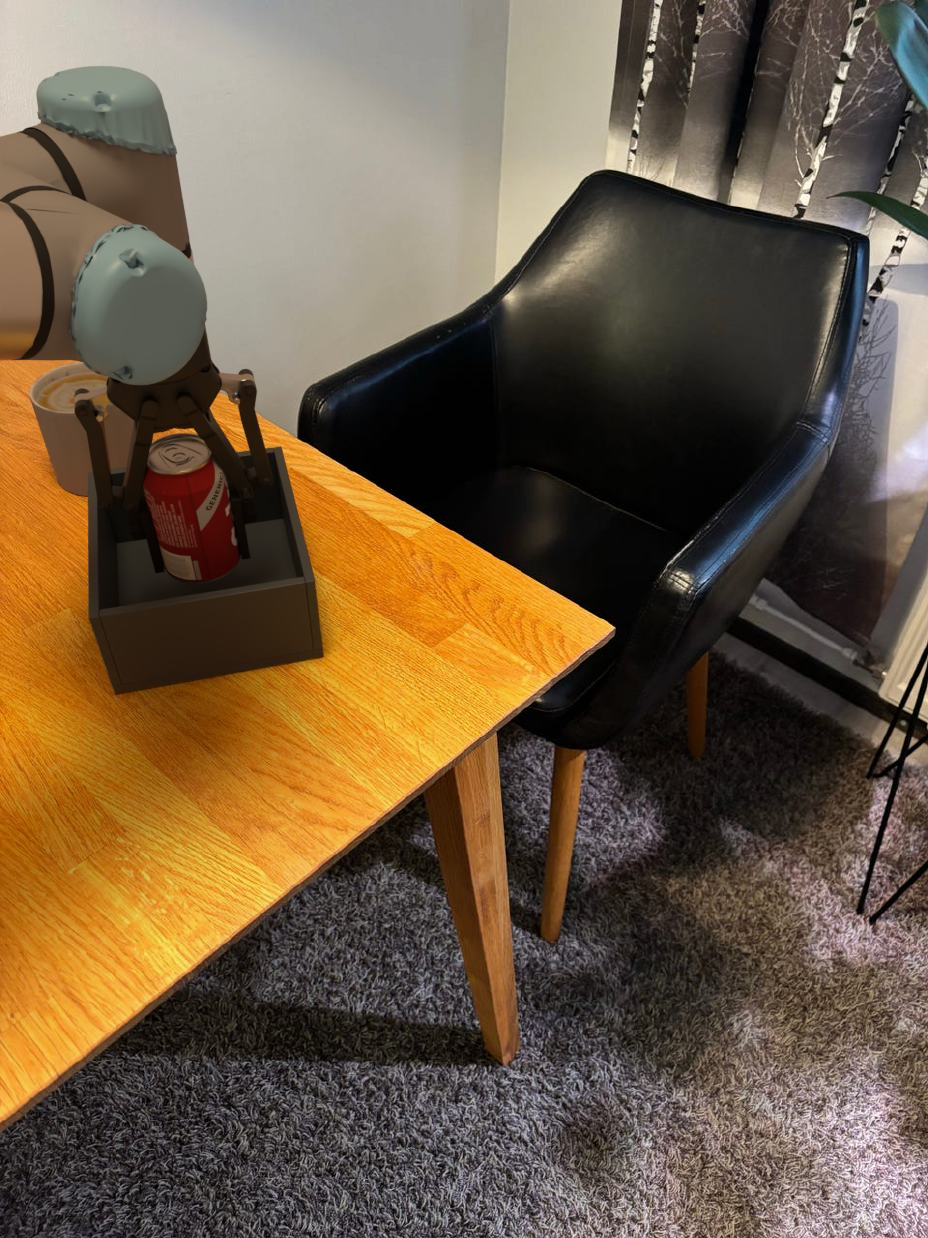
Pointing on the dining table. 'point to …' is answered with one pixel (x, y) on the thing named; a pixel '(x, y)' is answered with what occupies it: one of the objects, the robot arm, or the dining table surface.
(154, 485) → the soda can
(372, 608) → the dining table surface
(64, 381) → the coffee mug
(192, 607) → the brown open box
